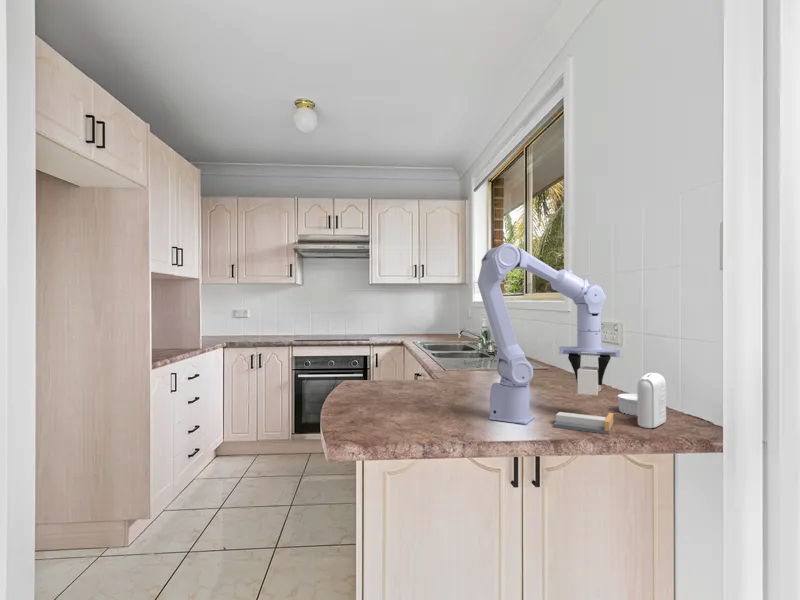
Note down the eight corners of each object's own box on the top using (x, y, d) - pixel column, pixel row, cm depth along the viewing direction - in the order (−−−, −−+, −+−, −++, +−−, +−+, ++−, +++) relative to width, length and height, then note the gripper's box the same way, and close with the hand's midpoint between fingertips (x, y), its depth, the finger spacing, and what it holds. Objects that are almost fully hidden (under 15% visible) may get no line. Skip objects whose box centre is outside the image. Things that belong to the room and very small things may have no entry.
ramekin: (642, 408, 124) (642, 393, 124) (662, 417, 115) (662, 400, 115) (611, 409, 124) (611, 393, 124) (628, 417, 115) (628, 400, 115)
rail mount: (553, 427, 105) (553, 415, 106) (561, 418, 113) (561, 407, 113) (609, 434, 99) (609, 421, 99) (613, 424, 107) (613, 413, 107)
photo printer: (649, 418, 113) (649, 369, 113) (668, 421, 110) (668, 371, 110) (634, 426, 106) (634, 374, 106) (654, 430, 103) (654, 376, 103)
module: (577, 393, 113) (577, 369, 113) (582, 388, 120) (582, 365, 120) (596, 395, 110) (596, 370, 110) (600, 390, 117) (600, 366, 117)
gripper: (621, 330, 115) (621, 383, 115) (562, 329, 122) (562, 378, 122) (619, 332, 109) (619, 388, 109) (557, 330, 116) (557, 382, 116)
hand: (589, 383), depth 115 cm, fingers closed on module, 4 cm apart
